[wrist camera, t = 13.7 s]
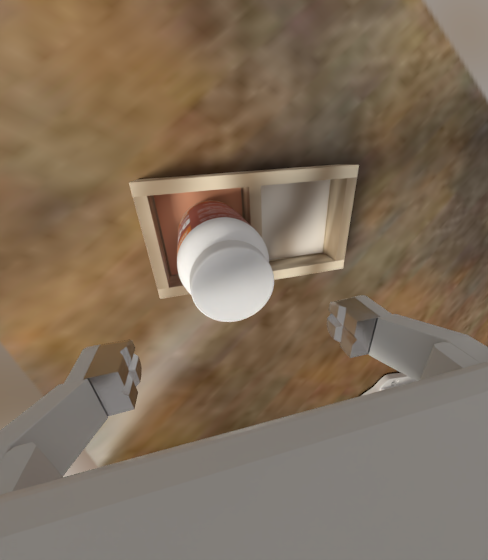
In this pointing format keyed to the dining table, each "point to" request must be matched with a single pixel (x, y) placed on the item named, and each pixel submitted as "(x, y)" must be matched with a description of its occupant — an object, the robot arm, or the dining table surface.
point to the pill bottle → (223, 262)
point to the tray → (254, 216)
